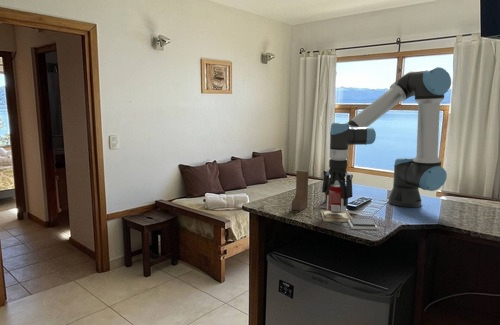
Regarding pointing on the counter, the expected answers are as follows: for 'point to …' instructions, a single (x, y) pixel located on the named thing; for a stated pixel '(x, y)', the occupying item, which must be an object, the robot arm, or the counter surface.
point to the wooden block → (301, 191)
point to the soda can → (335, 198)
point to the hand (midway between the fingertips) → (336, 210)
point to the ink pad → (362, 224)
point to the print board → (335, 216)
